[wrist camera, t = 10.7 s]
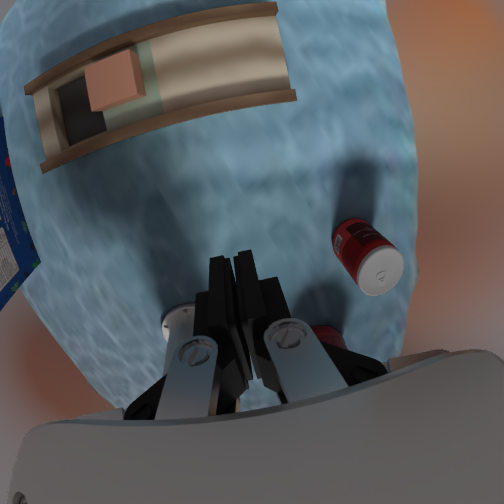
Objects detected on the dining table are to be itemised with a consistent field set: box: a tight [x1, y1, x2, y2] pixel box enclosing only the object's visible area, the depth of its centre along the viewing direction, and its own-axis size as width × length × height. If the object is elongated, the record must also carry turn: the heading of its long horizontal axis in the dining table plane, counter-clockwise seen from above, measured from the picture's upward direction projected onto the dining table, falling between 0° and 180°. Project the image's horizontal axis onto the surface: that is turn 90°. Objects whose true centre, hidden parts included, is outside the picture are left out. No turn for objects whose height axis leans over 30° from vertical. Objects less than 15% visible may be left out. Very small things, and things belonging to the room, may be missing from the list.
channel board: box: [24, 2, 297, 174], centre depth 28 cm, size 14×35×5 cm, turn 100°
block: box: [84, 49, 146, 111], centre depth 25 cm, size 6×6×4 cm
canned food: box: [332, 218, 404, 296], centre depth 40 cm, size 8×8×11 cm
